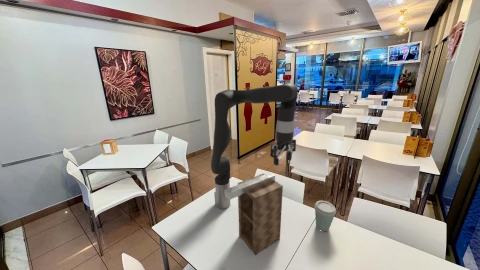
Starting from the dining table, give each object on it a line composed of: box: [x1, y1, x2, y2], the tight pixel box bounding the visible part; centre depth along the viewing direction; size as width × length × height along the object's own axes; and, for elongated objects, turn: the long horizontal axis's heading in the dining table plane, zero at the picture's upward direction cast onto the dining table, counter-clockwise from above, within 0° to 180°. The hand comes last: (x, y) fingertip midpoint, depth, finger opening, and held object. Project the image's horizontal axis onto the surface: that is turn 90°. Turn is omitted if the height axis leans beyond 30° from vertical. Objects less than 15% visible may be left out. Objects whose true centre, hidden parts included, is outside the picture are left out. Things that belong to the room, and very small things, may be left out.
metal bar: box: [225, 172, 276, 201], centre depth 89 cm, size 26×4×3 cm, turn 123°
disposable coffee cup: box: [314, 200, 337, 232], centre depth 105 cm, size 11×11×15 cm
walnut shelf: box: [237, 173, 284, 256], centre depth 97 cm, size 16×14×32 cm
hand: (282, 162), depth 92 cm, fingers open, 8 cm apart
